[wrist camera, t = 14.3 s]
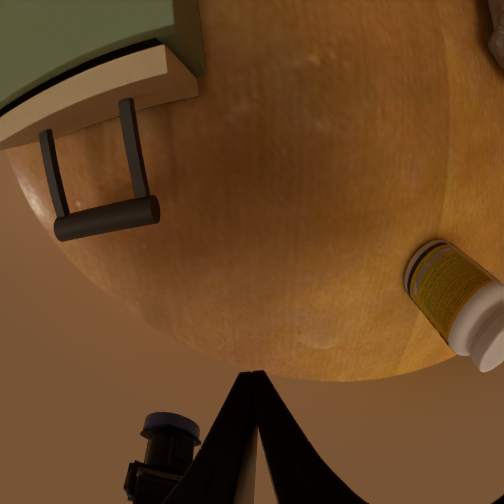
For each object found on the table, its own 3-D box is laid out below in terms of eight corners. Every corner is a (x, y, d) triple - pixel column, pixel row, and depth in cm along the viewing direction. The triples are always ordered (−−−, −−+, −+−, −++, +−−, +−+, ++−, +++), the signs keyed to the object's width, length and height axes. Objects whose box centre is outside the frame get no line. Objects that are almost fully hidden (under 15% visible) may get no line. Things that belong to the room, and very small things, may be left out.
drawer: (213, 191, 18) (196, 239, 11) (75, 219, 18) (10, 269, 11) (180, -79, 8) (160, -137, 1) (56, -32, 8) (5, -62, 1)
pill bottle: (392, 298, 23) (455, 388, 13) (414, 233, 21) (504, 309, 10) (440, 298, 24) (502, 372, 14) (461, 241, 21) (541, 305, 11)
